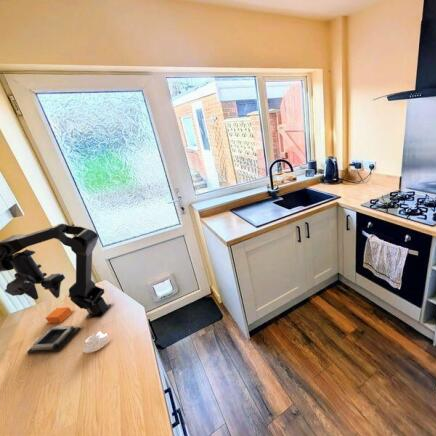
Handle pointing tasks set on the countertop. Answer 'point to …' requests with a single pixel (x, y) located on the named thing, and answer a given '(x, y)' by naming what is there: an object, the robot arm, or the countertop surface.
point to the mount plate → (54, 339)
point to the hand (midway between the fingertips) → (47, 298)
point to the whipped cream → (95, 342)
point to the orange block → (58, 315)
